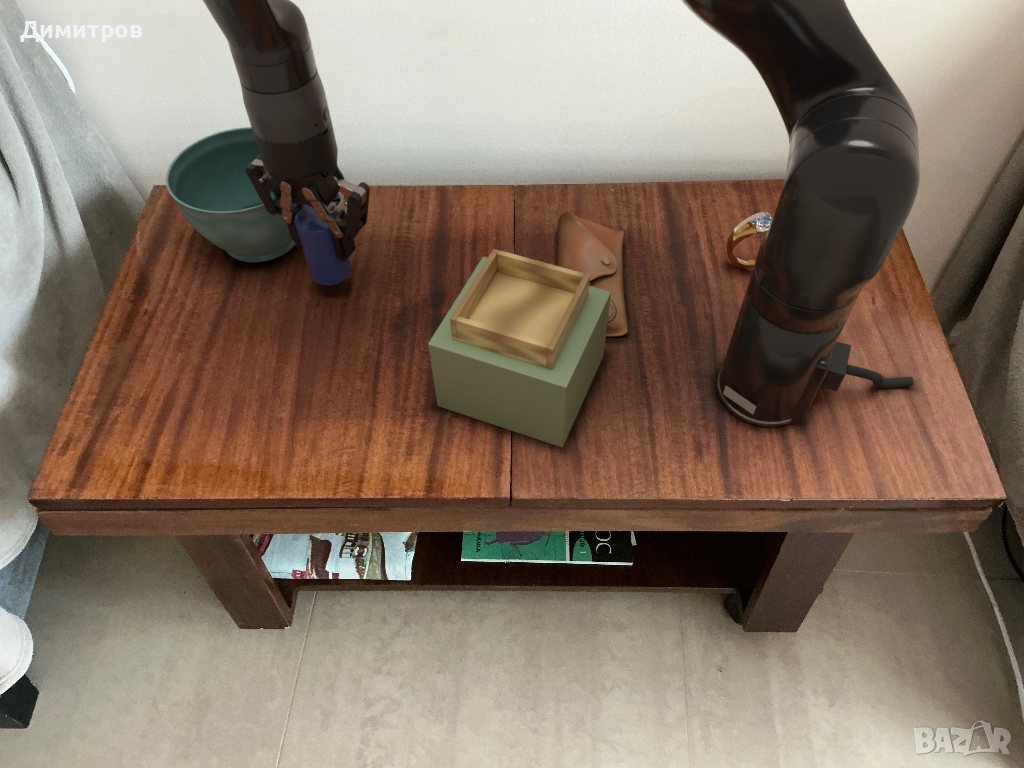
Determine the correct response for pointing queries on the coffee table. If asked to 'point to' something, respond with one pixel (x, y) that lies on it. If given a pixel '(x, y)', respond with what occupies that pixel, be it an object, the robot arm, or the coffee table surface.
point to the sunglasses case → (595, 262)
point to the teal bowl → (227, 197)
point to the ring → (761, 225)
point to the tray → (521, 308)
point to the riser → (521, 375)
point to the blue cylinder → (320, 248)
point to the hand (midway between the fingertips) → (325, 249)
